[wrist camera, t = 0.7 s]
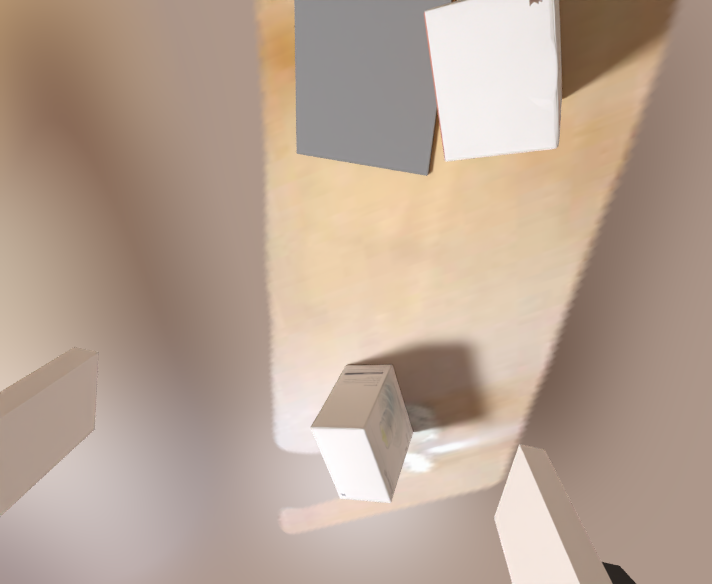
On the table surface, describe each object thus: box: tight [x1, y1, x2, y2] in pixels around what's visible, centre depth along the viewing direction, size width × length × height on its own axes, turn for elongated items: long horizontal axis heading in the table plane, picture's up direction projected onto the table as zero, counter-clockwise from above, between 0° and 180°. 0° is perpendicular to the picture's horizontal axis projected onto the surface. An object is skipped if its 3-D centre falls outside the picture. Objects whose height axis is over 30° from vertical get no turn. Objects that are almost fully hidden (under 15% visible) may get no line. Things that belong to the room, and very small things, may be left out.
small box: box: [424, 0, 562, 161], centre depth 30 cm, size 8×6×13 cm
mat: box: [295, 0, 452, 176], centre depth 38 cm, size 20×12×1 cm, turn 177°
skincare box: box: [311, 365, 413, 503], centre depth 54 cm, size 10×6×10 cm, turn 18°
